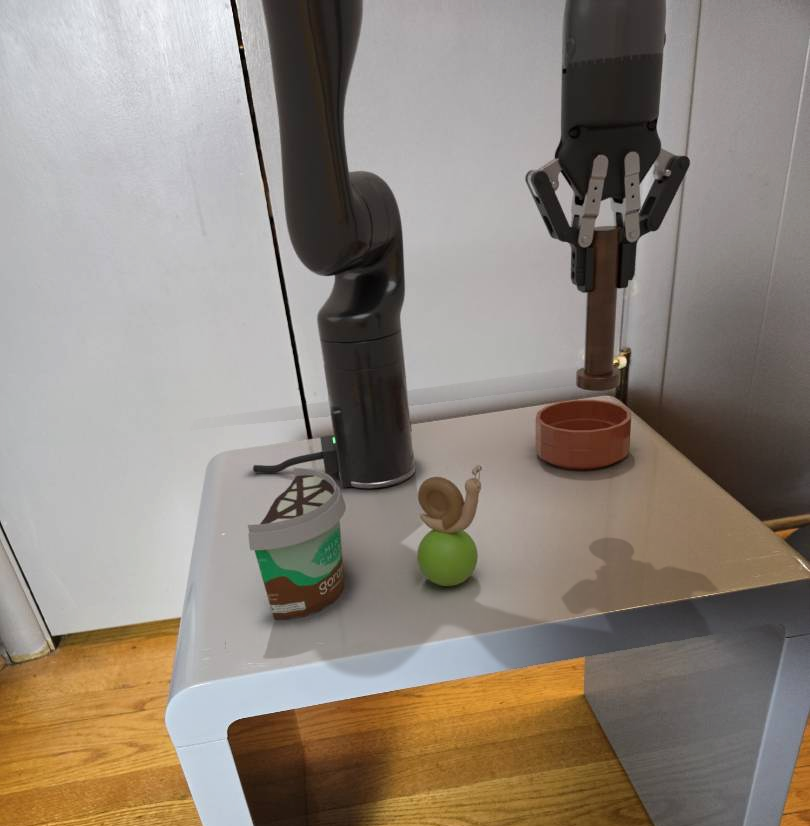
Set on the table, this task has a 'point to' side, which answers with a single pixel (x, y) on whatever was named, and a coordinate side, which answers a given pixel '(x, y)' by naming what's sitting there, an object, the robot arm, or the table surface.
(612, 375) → the muddler
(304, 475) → the food container
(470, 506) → the snail figurine
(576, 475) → the table surface
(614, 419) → the bowl
